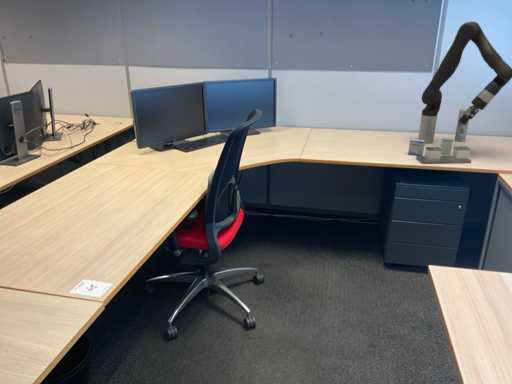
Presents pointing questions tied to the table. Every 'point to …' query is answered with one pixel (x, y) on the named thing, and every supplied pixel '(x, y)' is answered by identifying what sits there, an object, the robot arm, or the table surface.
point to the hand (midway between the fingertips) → (461, 122)
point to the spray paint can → (461, 128)
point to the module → (446, 146)
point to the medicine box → (416, 147)
